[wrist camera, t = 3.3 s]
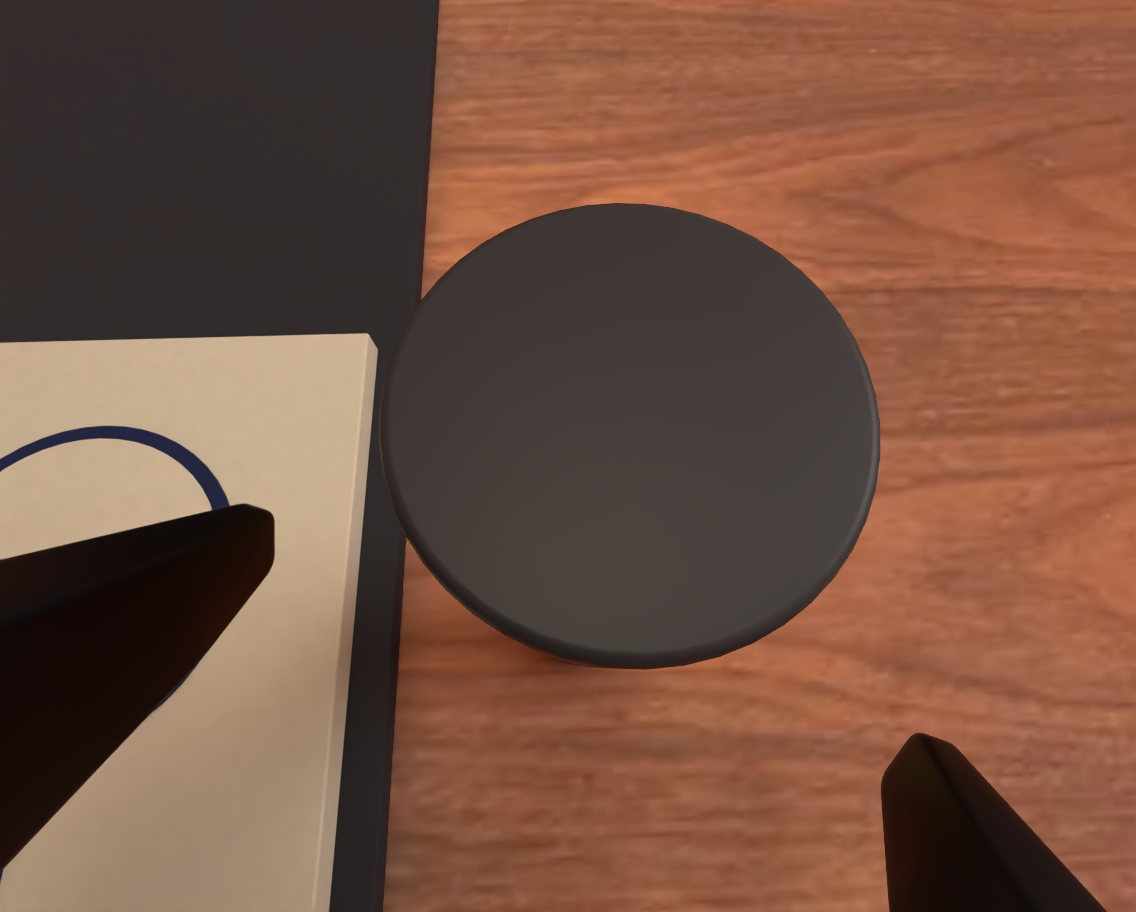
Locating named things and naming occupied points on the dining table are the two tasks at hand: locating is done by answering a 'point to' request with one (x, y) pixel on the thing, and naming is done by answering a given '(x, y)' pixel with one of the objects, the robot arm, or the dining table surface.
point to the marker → (629, 436)
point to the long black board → (219, 411)
